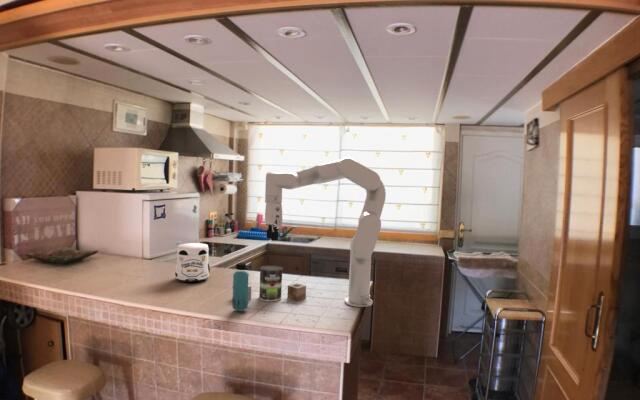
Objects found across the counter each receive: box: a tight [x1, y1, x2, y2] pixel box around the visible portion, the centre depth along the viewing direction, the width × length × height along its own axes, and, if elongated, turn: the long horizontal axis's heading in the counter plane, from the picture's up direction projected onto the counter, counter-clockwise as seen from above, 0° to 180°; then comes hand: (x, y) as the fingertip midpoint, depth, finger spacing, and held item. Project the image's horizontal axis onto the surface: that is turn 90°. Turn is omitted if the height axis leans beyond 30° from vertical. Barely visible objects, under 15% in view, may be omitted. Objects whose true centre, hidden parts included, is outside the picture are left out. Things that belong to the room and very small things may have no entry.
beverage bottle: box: [231, 262, 250, 311], centre depth 159 cm, size 6×7×20 cm
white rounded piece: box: [174, 242, 211, 283], centre depth 201 cm, size 17×17×18 cm
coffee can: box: [258, 264, 284, 302], centre depth 177 cm, size 10×10×14 cm
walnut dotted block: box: [286, 282, 307, 302], centre depth 179 cm, size 6×6×6 cm
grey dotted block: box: [248, 282, 252, 301], centre depth 176 cm, size 6×6×6 cm
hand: (272, 239), depth 176 cm, fingers open, 4 cm apart
